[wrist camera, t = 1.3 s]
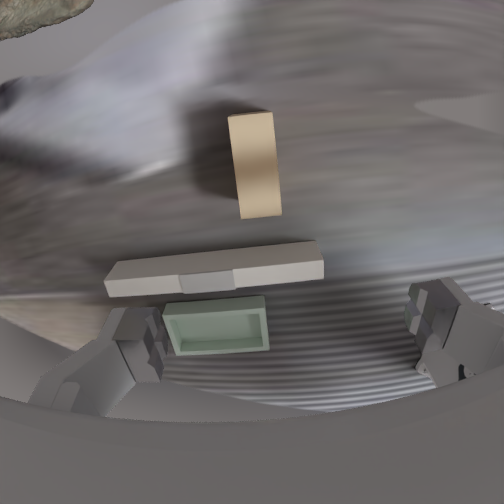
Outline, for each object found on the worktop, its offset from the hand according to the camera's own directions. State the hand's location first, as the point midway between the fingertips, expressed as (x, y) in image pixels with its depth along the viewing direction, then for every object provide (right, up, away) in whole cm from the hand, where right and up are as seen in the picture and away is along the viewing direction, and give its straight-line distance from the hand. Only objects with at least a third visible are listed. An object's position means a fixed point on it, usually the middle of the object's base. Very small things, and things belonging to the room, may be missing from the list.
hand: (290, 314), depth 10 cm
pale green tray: (-6, -8, +35) cm, 36 cm away
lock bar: (-1, +12, +24) cm, 27 cm away
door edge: (-6, +1, +30) cm, 31 cm away
